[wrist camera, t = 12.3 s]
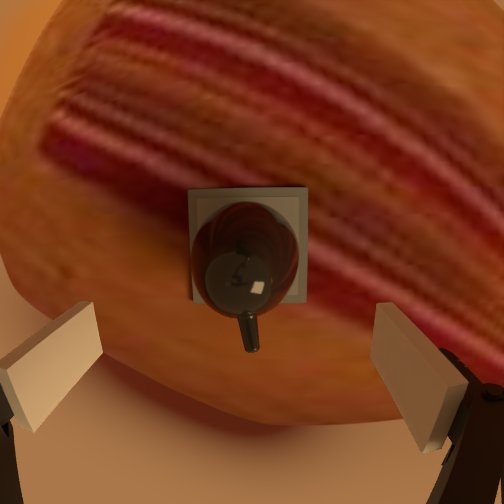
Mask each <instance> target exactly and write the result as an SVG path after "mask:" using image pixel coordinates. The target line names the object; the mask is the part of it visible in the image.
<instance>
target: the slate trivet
mask: <svg viewBox="0 0 504 504" xmlns="http://www.w3.org/2000/svg"><path fill="white" fill-rule="evenodd" d="M238 201H254V202H259V203H263V204H265V205H268V206H270V207H272V208H274V209H275V210H277V211H278V212H279V213H281V214H282V215H283V216H284V217H285V218H286V219H287V221H288V222H289V223H290V225H291V226H292V228H293V230H294V232H295V234H296V237H297V240H298V245H299V266H298V271H297V275H296V278H295V280H294V283H293V285H292V287H291V289H290V290H289V292H288V294H287V295H286V296H285V298H284V299H283V300H282V301H281V302H280V303H306V293H307V254H308V188H305V187H270V188H220V189H193V190H188V212H189V236H190V256H191V251H192V246H193V242H194V239H195V236H196V234H197V232H198V230H199V228H200V226H201V225H202V223H203V222H204V221H205V219H206V218H207V217H208V216H209V215H210V214H212V213H213V212H214V211H216V210H217V209H219V208H220V207H222V206H224V205H227V204H230V203H233V202H238ZM191 272H192V270H191ZM192 287H193V301H194V303H205V301H204V300H203V299H202V298H201V296H200V294H199V293H198V291H197V289H196V286H195V283H194V280H193V276H192Z"/></svg>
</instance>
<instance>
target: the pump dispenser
mask: <svg viewBox="0 0 504 504" xmlns="http://www.w3.org/2000/svg"><path fill="white" fill-rule="evenodd" d="M298 266H299V245H298V240H297V237H296V234H295V232H294V230H293V228H292V226H291V225H290V223H289V222H288V221H287V219H286V218H285V217H284V216H283V215H282V214H281V213H279V212H278V211H277V210H275V209H274V208H272V207H270V206H268V205H265V204H263V203H259V202H254V201H238V202H233V203H230V204H227V205H224V206H222V207H220V208H219V209H217V210H216V211H214V212H213V213H212V214H210V215H209V216H208V217H207V218H206V219H205V221H204V222H203V223H202V225H201V226H200V228H199V230H198V232H197V234H196V236H195V239H194V242H193V246H192V251H191V270H192V276H193V280H194V283H195V286H196V289H197V291H198V293H199V294H200V296H201V298H202V299H203V300H204V301H205V303H206V304H207V305H208V306H209V307H210V308H212V309H213V310H214V311H216V312H217V313H219V314H221V315H224V316H226V317H230V318H237V319H238V323H239V327H240V331H241V335H242V340H243V344H244V348H245V351H246V352H248V353H253V352H257V351H258V350H259V348H260V346H259V335H258V323H257V316H260V315H263V314H265V313H267V312H269V311H270V310H272V309H273V308H274V307H276V306H277V305H278V304H279V303H280V302H281V301H282V300H283V299H284V298H285V296H286V295H287V294H288V292H289V290H290V289H291V287H292V285H293V283H294V280H295V278H296V275H297V271H298Z"/></svg>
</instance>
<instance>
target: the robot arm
mask: <svg viewBox="0 0 504 504" xmlns="http://www.w3.org/2000/svg"><path fill="white" fill-rule="evenodd" d="M102 353H103V351H102V346H101V342H100V337H99V332H98V328H97V322H96V317H95V312H94V306H93V302H84V301H80V302H78V303H77V304H75V305H74V306H73V307H71V308H70V309H68V310H67V311H66V312H64V313H63V314H61V315H60V316H59V317H57V318H56V319H54V320H53V321H52V322H50V323H49V324H48V325H46V326H45V327H43V328H42V329H41V330H39V331H38V332H37V333H35V334H34V335H33V336H31V337H30V338H29V339H27V340H26V341H24V342H23V343H22V344H21V345H19V346H18V347H17V348H15V349H14V350H13V351H11V352H10V353H9V354H7V355H6V356H5V357H3V358H2V359H1V360H0V504H24V503H23V498H22V493H21V488H20V482H19V476H18V469H17V462H16V455H15V446H14V434H13V427H12V424H11V422H10V419H11V418H12V417H13V416H15V418H16V420H17V422H18V424H19V426H20V427H21V428H23V429H26V430H28V431H30V432H33V433H34V432H35V431H36V430H37V428H38V427H39V426H40V425H41V424H42V423H43V421H44V420H45V419H46V418H47V417H48V415H49V414H50V413H51V412H52V411H53V409H54V408H55V407H56V406H57V405H58V404H59V402H60V401H61V400H62V399H63V398H64V396H65V395H66V394H67V393H68V392H69V391H70V389H71V388H72V387H73V386H74V385H75V384H76V382H77V381H78V380H79V379H80V378H81V377H82V376H83V374H84V373H85V372H86V371H87V370H88V369H89V368H90V366H91V365H92V364H93V363H94V362H95V361H96V360H97V359H98V357H99V356H100V355H101V354H102ZM370 359H371V360H372V362H373V364H374V366H375V367H376V369H377V371H378V373H379V374H380V376H381V378H382V380H383V382H384V383H385V385H386V387H387V389H388V391H389V393H390V394H391V396H392V398H393V400H394V402H395V404H396V405H397V407H398V409H399V411H400V413H401V415H402V417H403V418H404V420H405V422H406V424H407V426H408V428H409V430H410V432H411V434H412V435H413V437H414V439H415V441H416V443H417V445H418V447H419V449H420V451H421V453H422V454H423V453H427V452H431V451H435V450H439V449H442V446H443V444H444V442H445V440H446V438H447V436H448V437H449V439H450V440H451V442H452V445H451V447H450V449H449V451H448V453H447V455H446V457H445V459H444V461H443V463H442V465H443V467H442V469H441V472H440V474H439V476H438V479H437V481H436V483H435V486H434V488H433V490H432V492H431V494H430V497H429V499H428V501H427V503H426V504H494V502H495V498H496V494H497V490H498V486H499V481H500V478H501V497H502V504H504V388H503V387H502V386H499V385H496V384H491V383H486V384H482V383H481V381H480V380H479V379H478V378H477V377H476V376H475V375H474V374H473V373H472V372H471V371H470V370H469V369H468V368H467V367H465V365H464V364H463V363H462V362H460V360H459V359H458V358H457V357H456V356H455V355H454V354H453V353H452V352H450V351H448V350H446V349H444V348H439V349H438V348H437V347H436V346H435V345H434V344H433V343H432V342H431V341H430V340H429V339H428V338H427V337H426V336H425V335H424V334H423V333H422V332H421V331H420V330H419V329H418V328H417V327H416V326H415V325H414V324H413V323H412V322H411V321H410V320H409V319H408V318H407V317H406V316H405V315H404V314H403V313H402V312H401V311H400V310H399V309H398V308H397V307H396V306H395V305H394V304H393V303H392V302H390V303H377V306H376V315H375V323H374V330H373V337H372V344H371V351H370Z"/></svg>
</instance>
